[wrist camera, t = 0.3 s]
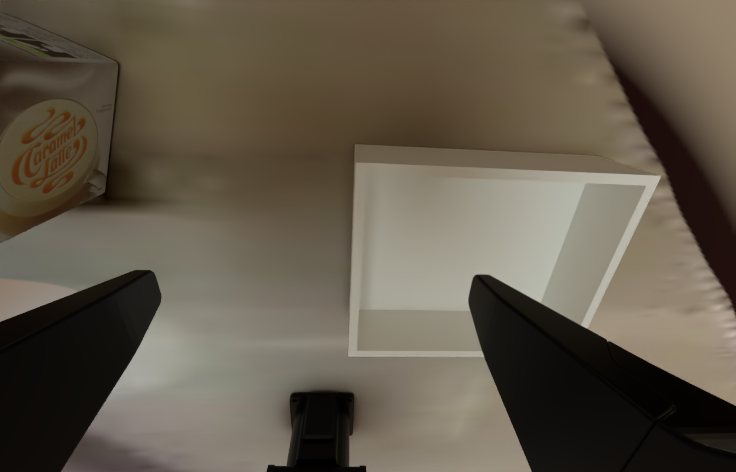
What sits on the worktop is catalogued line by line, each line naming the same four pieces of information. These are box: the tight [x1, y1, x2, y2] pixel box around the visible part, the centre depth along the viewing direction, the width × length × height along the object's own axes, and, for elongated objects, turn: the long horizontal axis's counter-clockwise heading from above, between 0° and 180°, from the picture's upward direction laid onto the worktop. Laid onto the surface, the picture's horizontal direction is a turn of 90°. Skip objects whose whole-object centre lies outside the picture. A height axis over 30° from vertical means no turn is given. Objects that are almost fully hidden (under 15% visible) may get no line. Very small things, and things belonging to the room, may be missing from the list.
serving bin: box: [348, 144, 661, 357], centre depth 23 cm, size 14×17×5 cm
